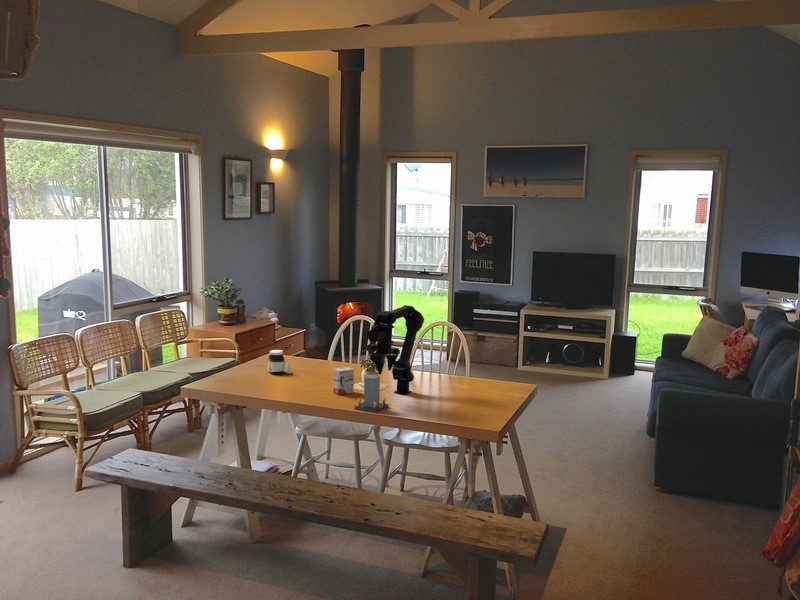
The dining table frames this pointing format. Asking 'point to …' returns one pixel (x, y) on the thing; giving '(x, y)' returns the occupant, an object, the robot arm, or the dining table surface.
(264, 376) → the dining table surface
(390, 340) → the robot arm
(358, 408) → the base plate
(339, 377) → the ink box
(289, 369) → the spread jar
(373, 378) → the post
